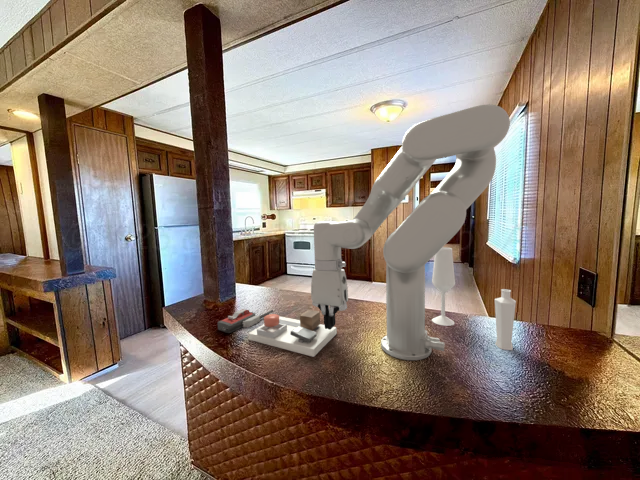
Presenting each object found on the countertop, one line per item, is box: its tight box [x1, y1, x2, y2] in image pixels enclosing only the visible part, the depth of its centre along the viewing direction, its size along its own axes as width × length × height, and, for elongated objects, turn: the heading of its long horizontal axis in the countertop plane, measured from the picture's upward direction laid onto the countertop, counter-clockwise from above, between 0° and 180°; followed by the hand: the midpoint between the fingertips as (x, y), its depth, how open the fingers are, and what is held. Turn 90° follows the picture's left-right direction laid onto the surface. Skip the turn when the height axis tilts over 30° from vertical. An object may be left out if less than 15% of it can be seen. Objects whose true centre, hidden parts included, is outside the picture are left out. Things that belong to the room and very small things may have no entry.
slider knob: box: [299, 309, 321, 331], centre depth 76 cm, size 4×5×4 cm
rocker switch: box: [290, 326, 317, 342], centre depth 69 cm, size 6×4×1 cm, turn 62°
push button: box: [263, 313, 280, 327], centre depth 74 cm, size 4×4×2 cm
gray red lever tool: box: [217, 308, 275, 334], centre depth 88 cm, size 9×4×20 cm
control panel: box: [248, 315, 338, 357], centre depth 75 cm, size 22×14×4 cm, turn 62°
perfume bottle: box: [494, 288, 517, 351], centre depth 65 cm, size 5×4×15 cm
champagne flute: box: [431, 246, 456, 327], centre depth 81 cm, size 7×7×24 cm
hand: (329, 327), depth 73 cm, fingers closed
